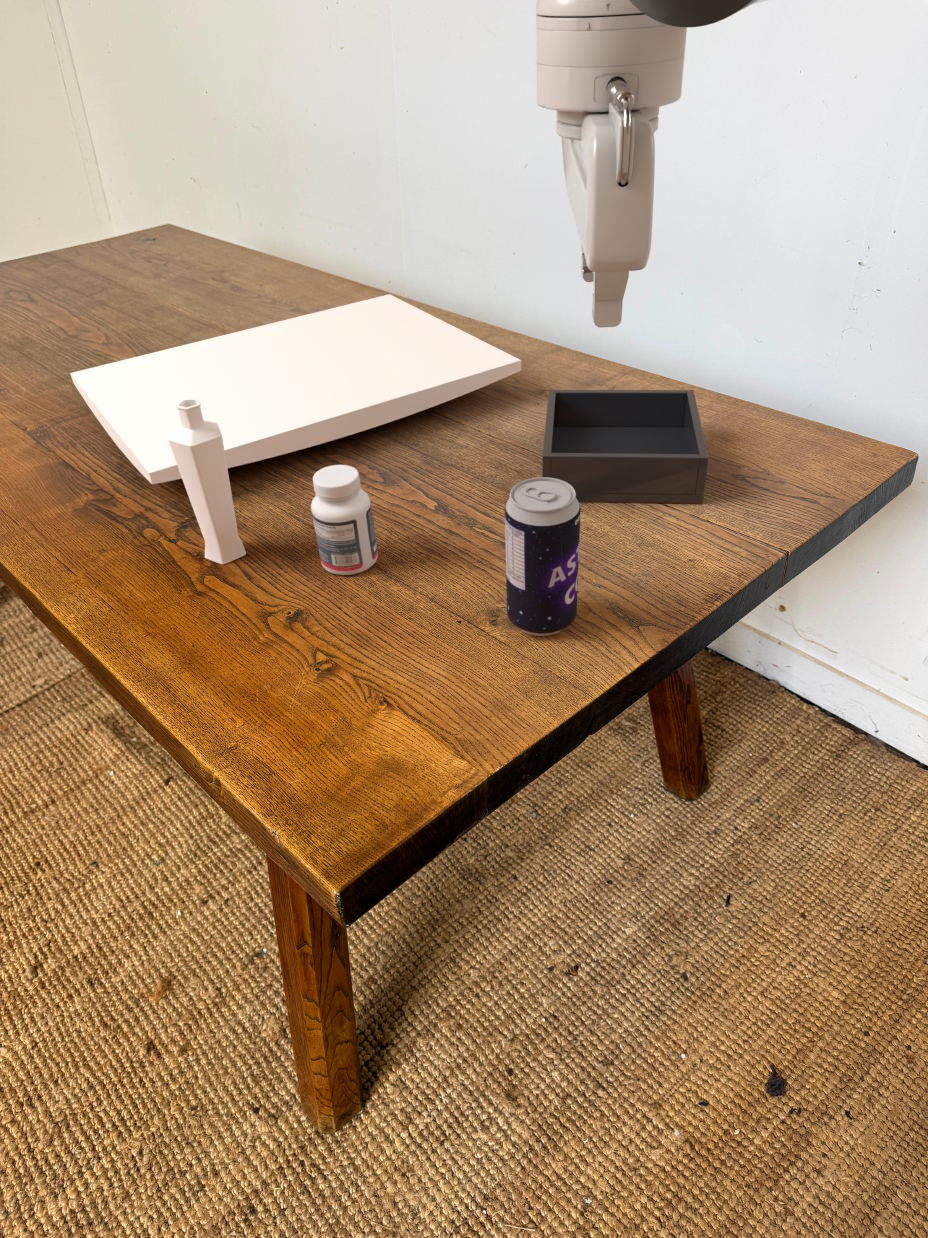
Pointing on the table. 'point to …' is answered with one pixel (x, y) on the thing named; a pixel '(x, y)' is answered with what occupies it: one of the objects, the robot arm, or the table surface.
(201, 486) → the perfume bottle
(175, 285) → the table surface
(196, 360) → the board
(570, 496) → the beverage can
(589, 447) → the open box
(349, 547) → the pill bottle
